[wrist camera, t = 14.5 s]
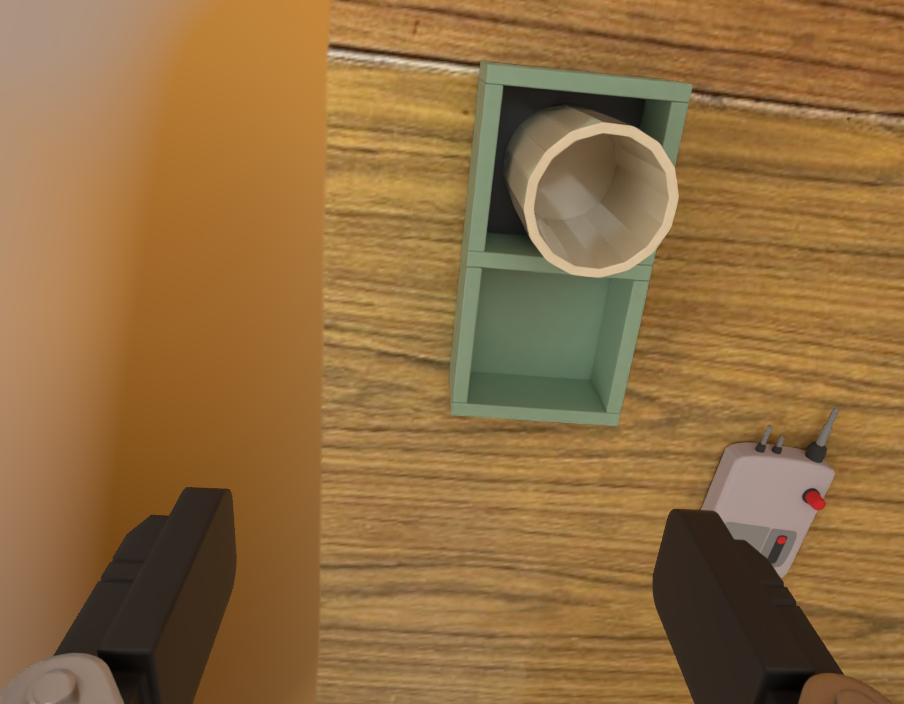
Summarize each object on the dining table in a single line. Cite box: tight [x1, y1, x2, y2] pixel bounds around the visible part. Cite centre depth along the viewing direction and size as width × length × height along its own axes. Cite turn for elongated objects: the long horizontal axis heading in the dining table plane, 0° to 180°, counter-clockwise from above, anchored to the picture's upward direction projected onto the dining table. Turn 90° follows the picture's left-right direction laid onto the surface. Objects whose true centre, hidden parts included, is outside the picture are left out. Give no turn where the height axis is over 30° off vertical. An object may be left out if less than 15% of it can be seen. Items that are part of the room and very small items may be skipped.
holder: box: [449, 61, 693, 426], centre depth 35 cm, size 17×9×5 cm, turn 175°
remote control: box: [701, 407, 839, 578], centre depth 43 cm, size 7×16×3 cm, turn 170°
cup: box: [503, 104, 679, 278], centre depth 31 cm, size 6×6×9 cm
